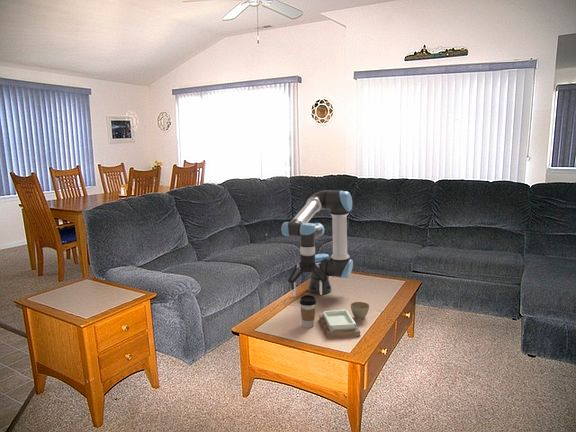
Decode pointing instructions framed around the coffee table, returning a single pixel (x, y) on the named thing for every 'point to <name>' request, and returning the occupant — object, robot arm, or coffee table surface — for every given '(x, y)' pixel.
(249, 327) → the coffee table surface
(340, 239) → the robot arm
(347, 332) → the shelf board
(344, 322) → the tray
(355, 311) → the flower pot
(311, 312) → the coffee cup
